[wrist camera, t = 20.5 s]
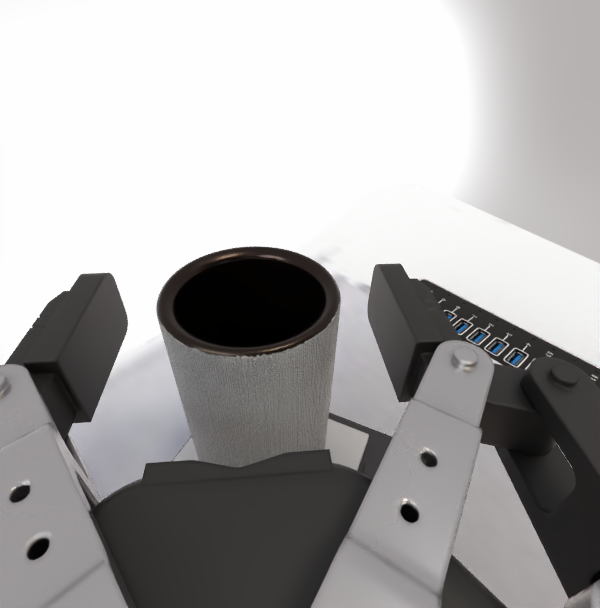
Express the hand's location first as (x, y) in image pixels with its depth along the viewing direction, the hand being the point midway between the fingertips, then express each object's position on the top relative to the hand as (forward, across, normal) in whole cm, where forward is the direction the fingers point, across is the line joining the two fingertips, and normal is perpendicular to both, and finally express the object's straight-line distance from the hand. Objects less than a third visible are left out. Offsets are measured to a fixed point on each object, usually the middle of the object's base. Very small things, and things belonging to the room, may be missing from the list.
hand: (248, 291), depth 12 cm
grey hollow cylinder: (-2, 0, +9) cm, 9 cm away
